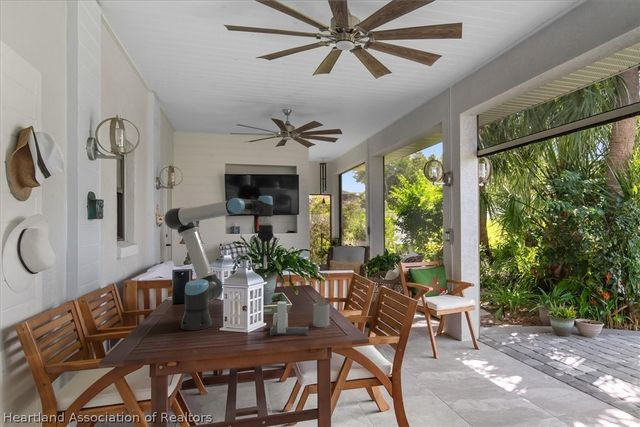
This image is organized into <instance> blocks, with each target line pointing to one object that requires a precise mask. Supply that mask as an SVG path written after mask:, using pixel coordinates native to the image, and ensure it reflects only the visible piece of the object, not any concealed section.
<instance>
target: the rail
mask: <svg viewBox="0 0 640 427" xmlns="http://www.w3.org/2000/svg"><path fill="white" fill-rule="evenodd" d="M274 335H275V336H276V335H279V336H280V335H282V336H283V335H285V336H286V335H288V336H289V335H292V336H293V335H295V336H296V335H301V336H302V335H305V336H309V326H308V325H307V326H300V327H299V326H294V327H293V326H288V327H286V333H277V327H273V326H270V329H269V336H274Z"/></svg>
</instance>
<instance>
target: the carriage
mask: <svg viewBox="0 0 640 427" xmlns="http://www.w3.org/2000/svg"><path fill="white" fill-rule="evenodd" d="M276 306H277V309H276V310H277V311H276V313H277V333H286V313H287V301H277V305H276Z"/></svg>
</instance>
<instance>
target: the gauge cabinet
mask: <svg viewBox="0 0 640 427" xmlns="http://www.w3.org/2000/svg"><path fill="white" fill-rule="evenodd" d="M288 315H289V314H288V312H286V327H289V325H288V324H289V323H288V322H289V317H288ZM272 320H273V321H272V327H277V312H275V313H273V316H272Z"/></svg>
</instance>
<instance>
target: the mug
mask: <svg viewBox="0 0 640 427" xmlns="http://www.w3.org/2000/svg"><path fill="white" fill-rule="evenodd" d="M312 311H313V321H312V322H313V326H314V327H316V328H327V327H330V304H329V303H327V302H316V303H314V304H313V310H312Z"/></svg>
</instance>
